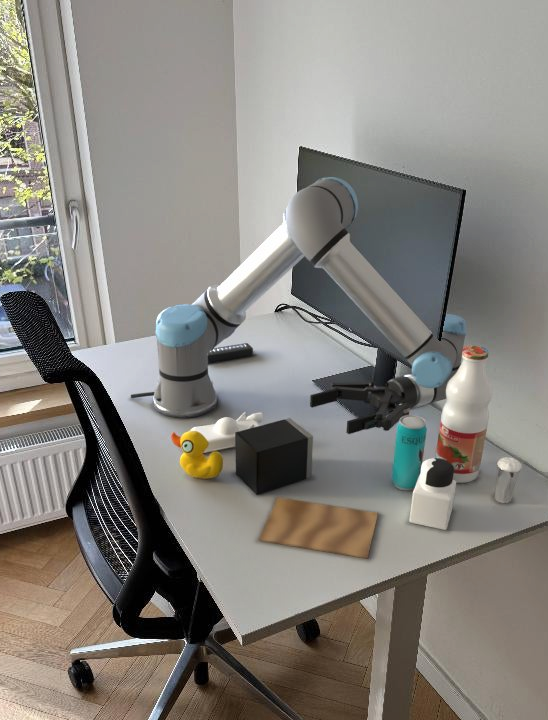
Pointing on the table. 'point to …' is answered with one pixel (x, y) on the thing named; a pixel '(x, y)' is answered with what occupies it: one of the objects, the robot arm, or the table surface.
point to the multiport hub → (230, 352)
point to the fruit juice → (466, 416)
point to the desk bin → (273, 455)
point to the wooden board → (320, 527)
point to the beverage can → (408, 452)
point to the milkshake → (506, 478)
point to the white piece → (227, 430)
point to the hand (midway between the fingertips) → (328, 414)
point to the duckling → (197, 455)
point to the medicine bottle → (433, 494)
